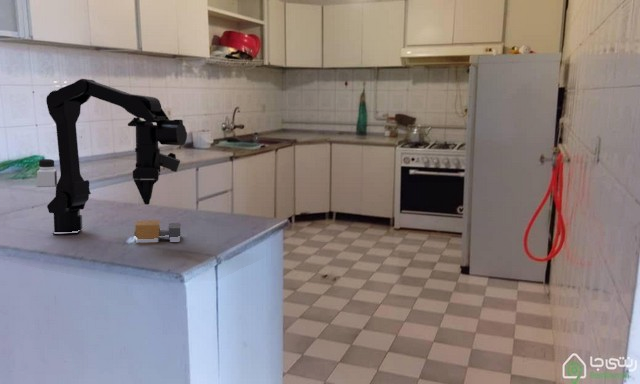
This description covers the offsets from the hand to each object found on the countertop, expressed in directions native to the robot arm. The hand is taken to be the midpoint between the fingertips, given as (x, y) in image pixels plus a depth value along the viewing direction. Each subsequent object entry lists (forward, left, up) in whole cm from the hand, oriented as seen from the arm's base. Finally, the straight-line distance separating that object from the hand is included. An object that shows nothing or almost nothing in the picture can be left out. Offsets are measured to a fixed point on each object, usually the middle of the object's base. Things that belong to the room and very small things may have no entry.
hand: (148, 201), depth 139 cm
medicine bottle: (-50, +111, -11) cm, 122 cm away
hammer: (+2, 0, -11) cm, 11 cm away
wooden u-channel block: (0, 0, -11) cm, 11 cm away
